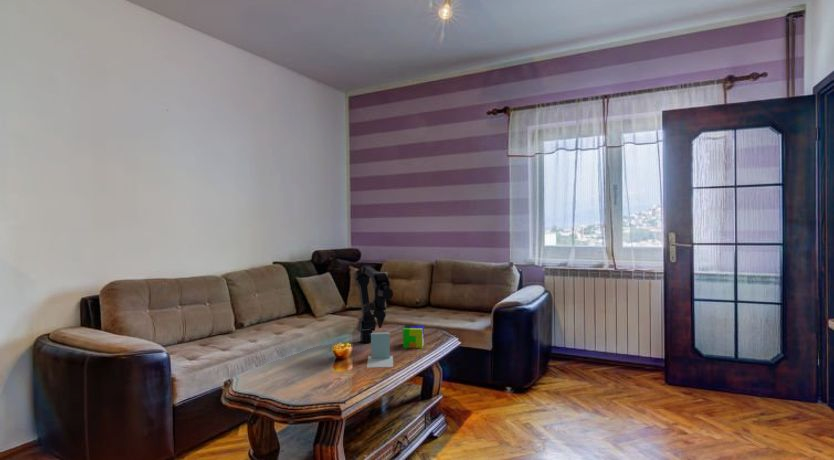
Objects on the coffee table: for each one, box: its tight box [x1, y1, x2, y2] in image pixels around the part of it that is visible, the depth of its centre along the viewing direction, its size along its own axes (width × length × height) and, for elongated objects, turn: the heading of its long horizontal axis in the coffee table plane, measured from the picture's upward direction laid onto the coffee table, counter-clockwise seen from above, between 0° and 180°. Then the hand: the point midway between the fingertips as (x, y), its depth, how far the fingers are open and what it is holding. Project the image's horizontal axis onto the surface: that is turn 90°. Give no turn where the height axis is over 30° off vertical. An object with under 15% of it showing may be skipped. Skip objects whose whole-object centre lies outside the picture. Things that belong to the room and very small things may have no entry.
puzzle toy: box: [402, 324, 425, 350], centre depth 244 cm, size 10×10×10 cm
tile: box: [370, 332, 391, 359], centre depth 221 cm, size 2×9×12 cm, turn 93°
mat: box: [366, 355, 394, 368], centre depth 216 cm, size 17×12×1 cm
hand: (379, 327), depth 236 cm, fingers open, 4 cm apart
